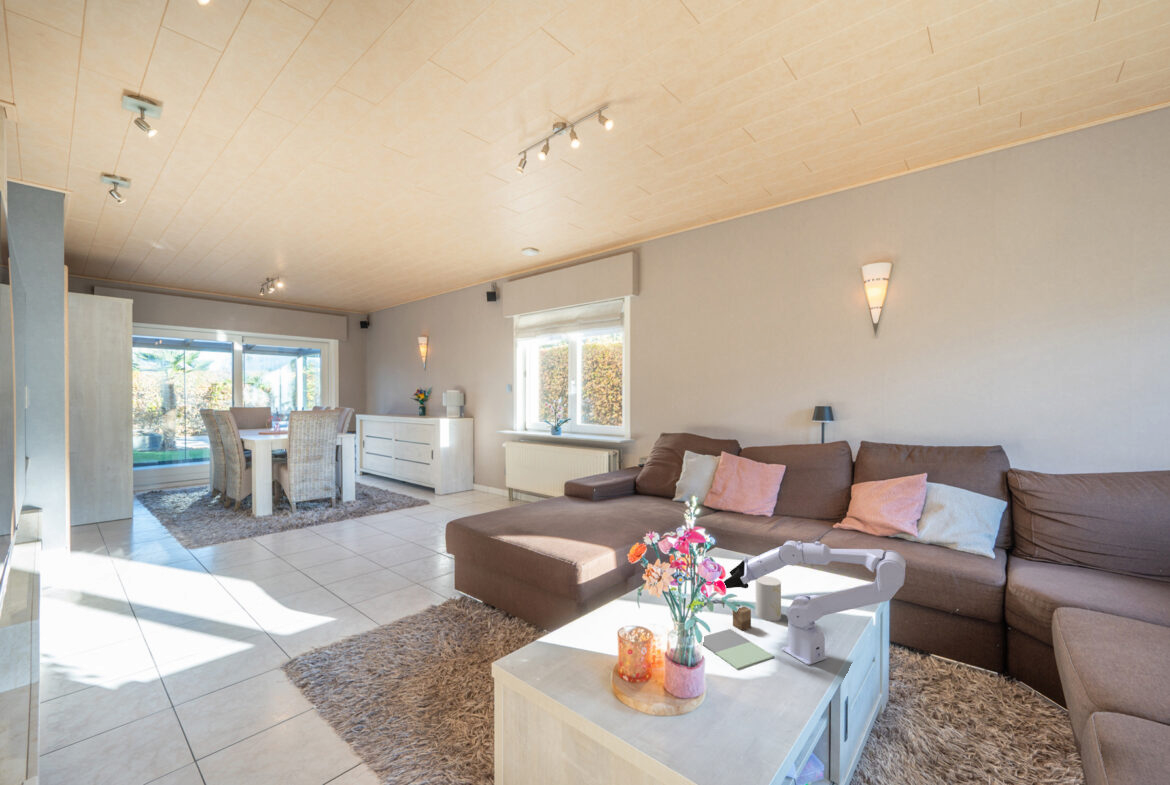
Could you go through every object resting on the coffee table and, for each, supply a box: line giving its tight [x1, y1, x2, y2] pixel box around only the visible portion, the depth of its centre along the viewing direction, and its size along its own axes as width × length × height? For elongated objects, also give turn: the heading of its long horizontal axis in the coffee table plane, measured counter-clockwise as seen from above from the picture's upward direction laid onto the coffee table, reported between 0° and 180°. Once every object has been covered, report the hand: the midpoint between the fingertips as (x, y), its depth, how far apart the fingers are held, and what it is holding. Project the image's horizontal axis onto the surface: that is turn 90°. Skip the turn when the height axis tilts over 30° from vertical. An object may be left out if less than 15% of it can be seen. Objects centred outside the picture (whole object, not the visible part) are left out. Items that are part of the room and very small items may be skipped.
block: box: [732, 606, 752, 632], centre depth 158 cm, size 4×4×6 cm
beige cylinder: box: [755, 575, 782, 622], centre depth 166 cm, size 8×8×12 cm
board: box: [702, 628, 775, 670], centre depth 144 cm, size 18×14×1 cm
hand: (728, 579), depth 154 cm, fingers open, 7 cm apart
